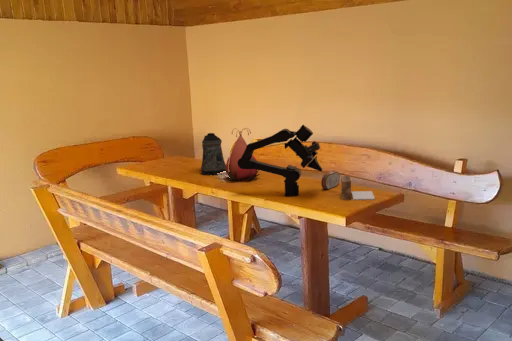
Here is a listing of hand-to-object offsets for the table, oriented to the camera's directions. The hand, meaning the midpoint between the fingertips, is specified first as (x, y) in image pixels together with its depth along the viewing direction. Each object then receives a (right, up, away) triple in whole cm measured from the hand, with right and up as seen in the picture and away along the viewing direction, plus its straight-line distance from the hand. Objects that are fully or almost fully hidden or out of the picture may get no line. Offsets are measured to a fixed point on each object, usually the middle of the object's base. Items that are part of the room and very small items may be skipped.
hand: (321, 170), depth 236 cm
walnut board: (+12, -13, -1) cm, 17 cm away
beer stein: (-60, -2, +69) cm, 92 cm away
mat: (+20, -12, -2) cm, 23 cm away
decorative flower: (-41, -5, +47) cm, 63 cm away
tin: (+7, -9, +17) cm, 21 cm away
